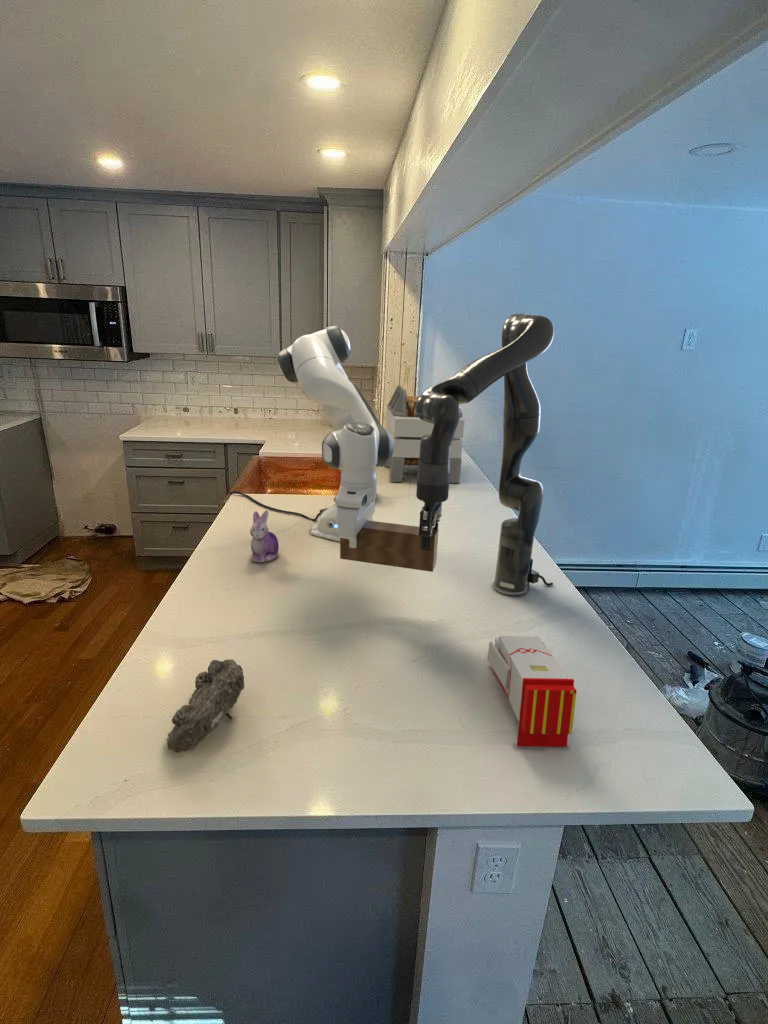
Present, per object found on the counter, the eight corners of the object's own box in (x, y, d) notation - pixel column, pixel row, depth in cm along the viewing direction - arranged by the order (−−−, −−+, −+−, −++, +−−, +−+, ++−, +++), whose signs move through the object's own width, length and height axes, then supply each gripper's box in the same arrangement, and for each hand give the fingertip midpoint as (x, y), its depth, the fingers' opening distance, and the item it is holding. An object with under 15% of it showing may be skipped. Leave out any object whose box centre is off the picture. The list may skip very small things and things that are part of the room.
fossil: (192, 660, 117) (244, 628, 112) (224, 691, 120) (276, 661, 115) (142, 746, 98) (202, 712, 93) (182, 779, 101) (242, 748, 96)
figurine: (254, 565, 170) (252, 519, 165) (245, 552, 179) (243, 508, 174) (284, 560, 175) (283, 515, 169) (274, 548, 183) (273, 504, 178)
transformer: (382, 463, 289) (386, 382, 275) (445, 464, 293) (451, 384, 279) (390, 482, 257) (394, 392, 243) (460, 483, 261) (468, 394, 247)
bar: (340, 558, 143) (340, 524, 140) (346, 550, 148) (346, 517, 145) (432, 571, 138) (435, 536, 135) (436, 563, 143) (438, 529, 140)
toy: (536, 619, 129) (586, 686, 99) (531, 673, 131) (578, 754, 102) (483, 618, 128) (517, 685, 99) (479, 672, 131) (511, 753, 102)
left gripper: (358, 477, 149) (357, 526, 154) (332, 501, 130) (332, 556, 135) (381, 479, 147) (380, 529, 152) (358, 504, 129) (357, 559, 134)
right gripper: (443, 490, 125) (438, 556, 130) (454, 472, 138) (449, 534, 143) (410, 486, 127) (407, 552, 132) (424, 469, 139) (420, 530, 145)
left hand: (357, 542), depth 144 cm, fingers closed on bar, 5 cm apart
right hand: (429, 542), depth 138 cm, fingers open, 8 cm apart
